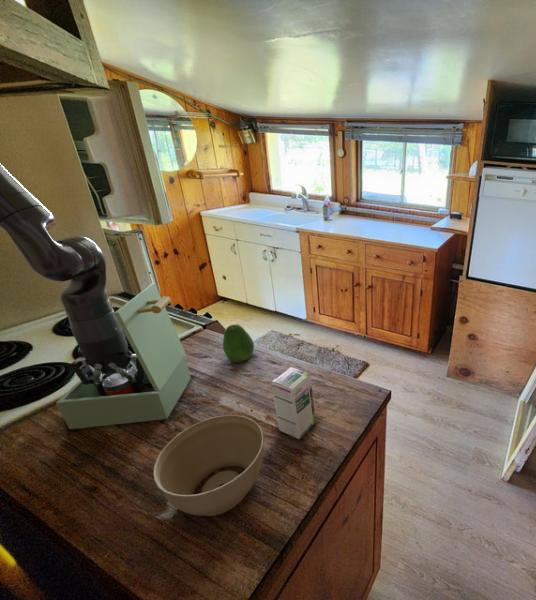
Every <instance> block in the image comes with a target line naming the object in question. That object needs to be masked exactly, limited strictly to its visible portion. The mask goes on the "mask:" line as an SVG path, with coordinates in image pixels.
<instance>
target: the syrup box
mask: <svg viewBox="0 0 536 600" xmlns="http://www.w3.org/2000/svg"><path fill="white" fill-rule="evenodd" d="M270 384H271V390H272V396H273V403H274V407H275V413H276V419H277V424H278V430H279V431H281V433H282V432H283V433H284V434H287V435H289V436H291V437H292V438H295V439H298V440H300V439H301V438H303V436H305V434H306V433H307V432H308V431H309V430H310V429H311V428H312V427H313V425H315V423H317V421H316V411H315V404H314V394H313V383H312V375H311V374H310V373H308V372H307V371H304V370H301V369H298V368H295V367H291V366H290V367H289V368H288V369H287V370H285V371H284V372H282V373H281V374H279V375H278V376H277V377H275V378H274V379H272V380H271V381H270Z"/></svg>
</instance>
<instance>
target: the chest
mask: <svg viewBox="0 0 536 600" xmlns="http://www.w3.org/2000/svg"><path fill="white" fill-rule="evenodd" d="M131 362H132V363H133V364H134V361H133V360H131ZM135 366H136V369H137V365H135ZM91 369H92V371H93V372H94V370H95V369H94V368H93V367H91ZM125 370H127V367H126V368H125ZM113 374H115V373H109V374H107V376H106V378H107V377H109V376H111V375H113ZM86 376H87V375H86ZM87 377H88V376H87ZM191 379H192V377H191V374H190V370H189V366H188V363H187V360H186V354H185V355H184V356H183V358H182V359H181V361H180V362H179V364H178V365H177V367H176V368H175V369H174V371H173V372H172V374H171V375H170V377H169V378H168V380H167V381H166V383H165V384H164V386H163V387H162V388H161V390H160V391H158V392H155V391H145V392H144V391H143V392H141V393H133V394H122V395H111V396H101V395H100V393H99V391H98V389H97V387H96V386H94V385H93V384H88V385H85V384H83V383H82V381H81V380H80V379H79V380H78V381H77V382H76V383H75V384H74V385H73V386H72V387H71V388H69V390H68V391H67V392H65V394H64V395H62V396H61V397H60V398H59V399H58V400H57V401H56V402H55V405H56V406H57V409H58V410H59V412H60V414H61V416H62V418H63V420H64V421H65V424H66V425H67V427H68V430H75V429H84V428H85V429H86V428H95V427H104V426H114V425H123V424H132V423H142V422H151V421H152V422H153V421H160V420H168V418H169V416H170V415H171V414H172V411H173V409H174V408H175V407H176V405H177V403H178V401H179V399H180V397H181V396H182V394H183V392H184V391H185V389H186V387H188V384H189V383H190V380H191ZM142 381H143V384H144V385H147V384H151V382H150V380H149V378H148V377H147V376H146V377H145V379H144V380H142Z"/></svg>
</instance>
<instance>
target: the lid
mask: <svg viewBox="0 0 536 600" xmlns="http://www.w3.org/2000/svg"><path fill="white" fill-rule="evenodd" d="M171 302H172V299H171V297H170V296H167V295H163V296H162V297H161V295H160V293H159V290H158V288H157V285H156V283H150V284H149V285H148V286H146V287H145V288H144V289H143V290H141V291H139V293H137V294H136V295H135V296H133V297H132V298H131V299H129V300H128V301H127V302H126V303H125V304H123V305H122V306H121V307H120V308H118V309H117V310H116V311H114V314H115V316H116V318H117V320H118V322H119V324H120V326H121V328H122V330H123V332H124V335H125V338H126V340H127V342H128V343H129V345H130V347H131V349H132V350H133V352H134V354H136V356H137V358H138V360H139V361H140V363H141V365H142V367H143V369H144V371H145V373H146V375H147V377H148V378H149V380H150V382H151V383H150V384H151V386H152V388H153V390H154V392H158V391H160V390H161V388H162V387H163V386H164V384H165V383H166V381H167V380H168V378H169V377H170V375H171V374H172V372H173V371H174V369H175V368H176V367H177V365H178V364H179V362H180V361H181V359H182V358H183V356H184V355H185V356H186V350H185V348H184V346H183V344H182V341H181V339H180V337H179V335H178V332H177V330H176V328H175V325H174V324H173V320H172V319H171V317H170V315H169V313H168V310H167V308H166V307H167V306H168V305H169V304H170V303H171Z"/></svg>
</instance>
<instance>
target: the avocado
mask: <svg viewBox="0 0 536 600" xmlns="http://www.w3.org/2000/svg"><path fill="white" fill-rule="evenodd" d="M222 348H223V353H224V354H225V356H226V357H227V359H228V360H229V361H231V362H232V363H243V362H246V361H248V360H249V359H250V358H251V356H252V355H253V353H254V349H255V344H254V340H253V338H252V337H251V336H250V334H249V333H248V332H247V331H246V330H245V329H244V327H243V326H241V325H240V324H238V323H235V324H230V325H229V326H227V327H226V328H225V330H224V333H223V340H222Z"/></svg>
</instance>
